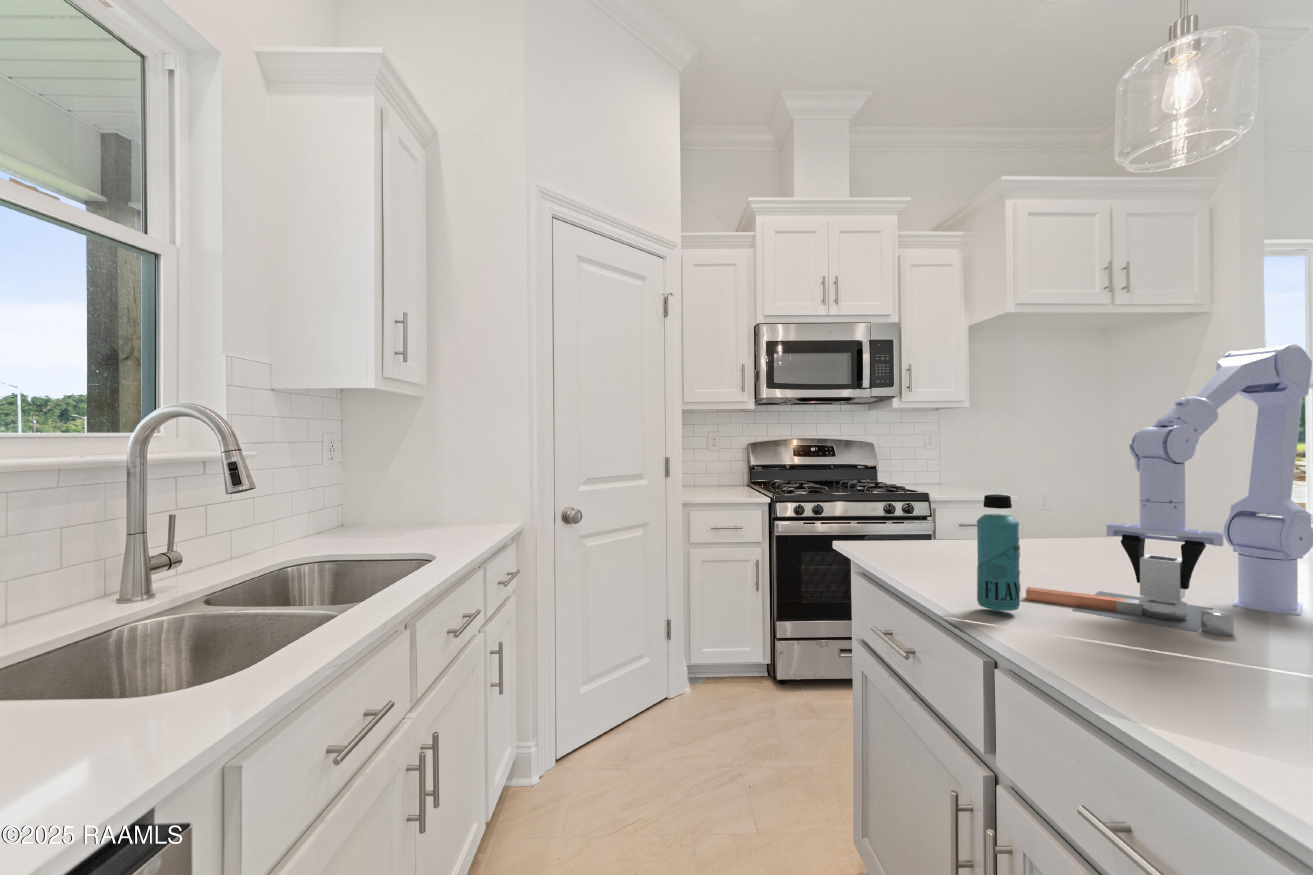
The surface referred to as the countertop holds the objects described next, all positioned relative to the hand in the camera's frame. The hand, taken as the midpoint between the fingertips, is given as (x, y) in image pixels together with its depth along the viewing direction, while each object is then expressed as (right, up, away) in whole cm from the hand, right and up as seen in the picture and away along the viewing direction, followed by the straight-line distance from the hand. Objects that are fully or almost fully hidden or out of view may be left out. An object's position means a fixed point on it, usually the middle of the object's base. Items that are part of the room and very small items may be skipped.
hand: (1162, 584), depth 100 cm
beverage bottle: (-25, -6, +3) cm, 26 cm away
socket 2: (+1, -5, -8) cm, 10 cm away
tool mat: (0, -5, +4) cm, 7 cm away
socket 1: (0, -2, 0) cm, 2 cm away
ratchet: (-6, -5, +5) cm, 9 cm away
